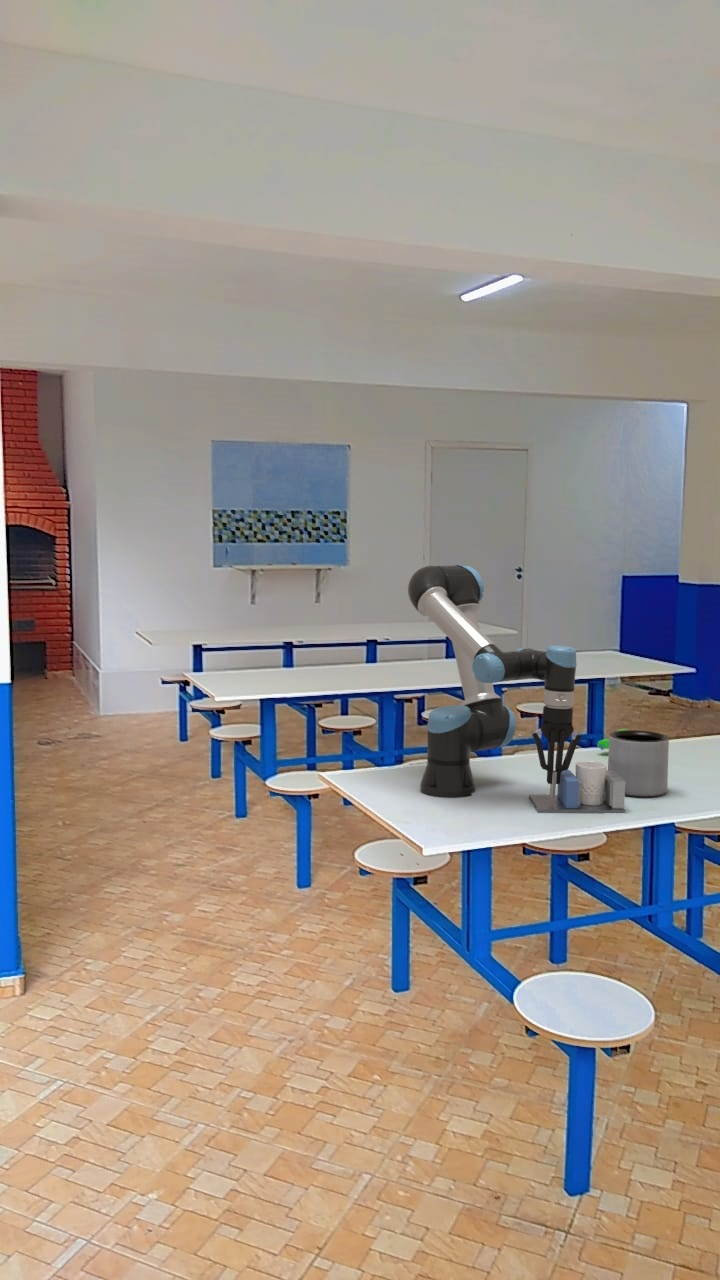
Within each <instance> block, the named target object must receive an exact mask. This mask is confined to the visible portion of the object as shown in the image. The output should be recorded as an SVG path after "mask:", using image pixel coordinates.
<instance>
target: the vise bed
mask: <svg viewBox="0 0 720 1280" xmlns="http://www.w3.org/2000/svg"><path fill="white" fill-rule="evenodd" d="M528 796H529V797H528V799H529V800H530V802H531V804H532V805H533V807H534V810H535V811H536V812H537V813H538V814H599V815H600V814H603V815H604V813H625V814H626V809H625V808H624V809H612V808H611V806H609V805H608V804H607V803H606V801H605V800H604V799H603V804H601V805H584V804H580V806H578V808H566V807H565V806H564V804H563V803H562V801H561V800H560V799H559V797H558V796H557V794H555V798H553V797H551V796H550V794H529V795H528Z"/></svg>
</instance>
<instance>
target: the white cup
mask: <svg viewBox="0 0 720 1280" xmlns="http://www.w3.org/2000/svg"><path fill="white" fill-rule="evenodd" d="M606 770H608V764H606V763H603V762H601V761H592V760H590V761H589V760H584V761H583V760H582V761H578V762H576V763H575V776H576V778H577V779H578V780H579V781H580V782H581V790H580V804H584V805H601V804H603V798H604V792H605V781H606Z"/></svg>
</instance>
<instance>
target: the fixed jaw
mask: <svg viewBox="0 0 720 1280" xmlns="http://www.w3.org/2000/svg"><path fill="white" fill-rule="evenodd" d="M625 797H626V795H625V781H624V780H623V779H622V778H621V777H620V776H619V775H618V774H617V773H616V772H615V771H614V770H608V769H606V781H605V792H604V798H603V799H604V800H605V801H606V803H607V804H608V805H609V806H611V808H612V809H625V801H626V800H625Z"/></svg>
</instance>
